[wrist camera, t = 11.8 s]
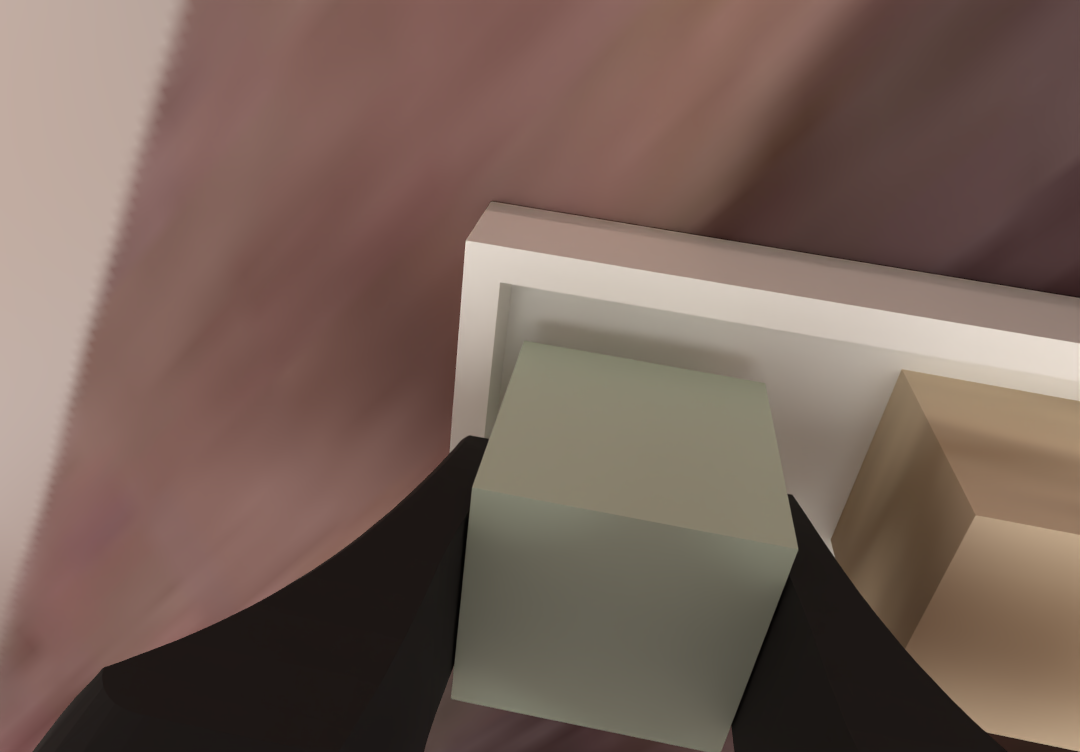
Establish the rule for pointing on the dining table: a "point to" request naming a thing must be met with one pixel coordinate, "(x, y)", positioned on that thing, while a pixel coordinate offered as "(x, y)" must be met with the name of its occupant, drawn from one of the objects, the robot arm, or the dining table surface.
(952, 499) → the birch block
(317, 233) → the dining table surface
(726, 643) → the sage block
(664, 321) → the tray
